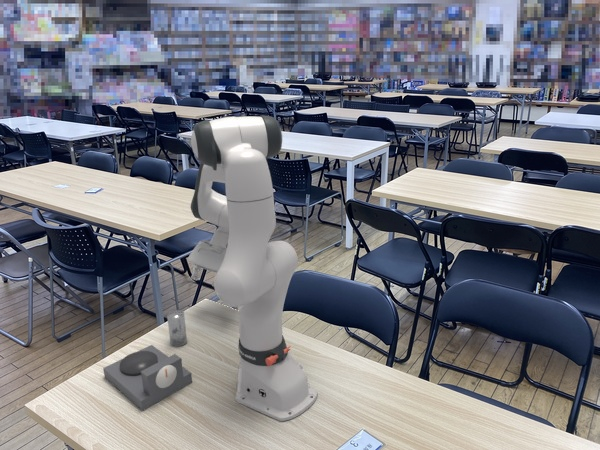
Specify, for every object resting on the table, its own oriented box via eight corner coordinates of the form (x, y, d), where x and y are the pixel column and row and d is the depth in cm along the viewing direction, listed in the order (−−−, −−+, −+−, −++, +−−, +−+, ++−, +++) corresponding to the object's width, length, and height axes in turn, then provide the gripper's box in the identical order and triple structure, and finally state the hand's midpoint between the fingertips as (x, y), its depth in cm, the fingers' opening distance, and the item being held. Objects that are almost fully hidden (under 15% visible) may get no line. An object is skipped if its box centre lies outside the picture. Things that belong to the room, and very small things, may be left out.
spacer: (190, 342, 148) (187, 313, 145) (176, 349, 145) (173, 320, 142) (181, 336, 152) (177, 308, 148) (167, 342, 148) (163, 314, 145)
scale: (193, 382, 130) (190, 354, 127) (143, 412, 120) (139, 381, 116) (152, 353, 143) (149, 326, 140) (104, 377, 133) (99, 348, 130)
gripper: (195, 234, 160) (175, 271, 156) (241, 247, 149) (221, 287, 144) (206, 242, 165) (187, 278, 161) (251, 255, 153) (232, 295, 149)
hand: (203, 283), depth 152 cm, fingers open, 8 cm apart
